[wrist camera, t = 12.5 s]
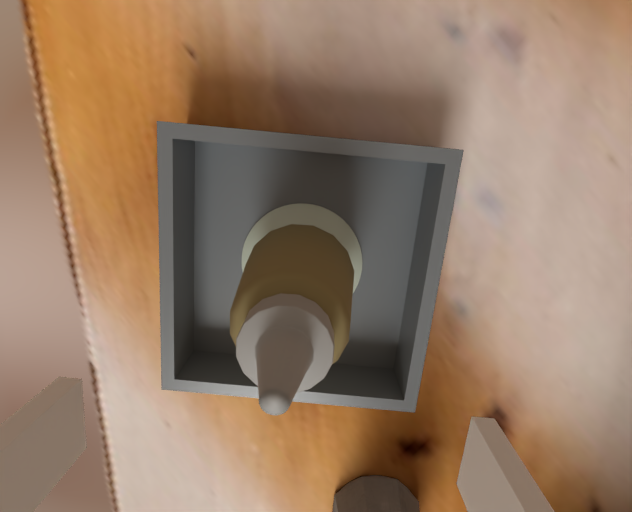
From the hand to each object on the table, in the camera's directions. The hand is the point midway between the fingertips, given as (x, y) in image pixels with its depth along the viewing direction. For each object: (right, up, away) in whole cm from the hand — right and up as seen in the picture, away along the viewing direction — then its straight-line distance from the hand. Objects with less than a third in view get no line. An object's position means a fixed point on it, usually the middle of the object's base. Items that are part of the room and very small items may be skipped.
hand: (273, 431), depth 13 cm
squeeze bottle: (0, +5, +19) cm, 20 cm away
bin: (0, +6, +20) cm, 21 cm away
